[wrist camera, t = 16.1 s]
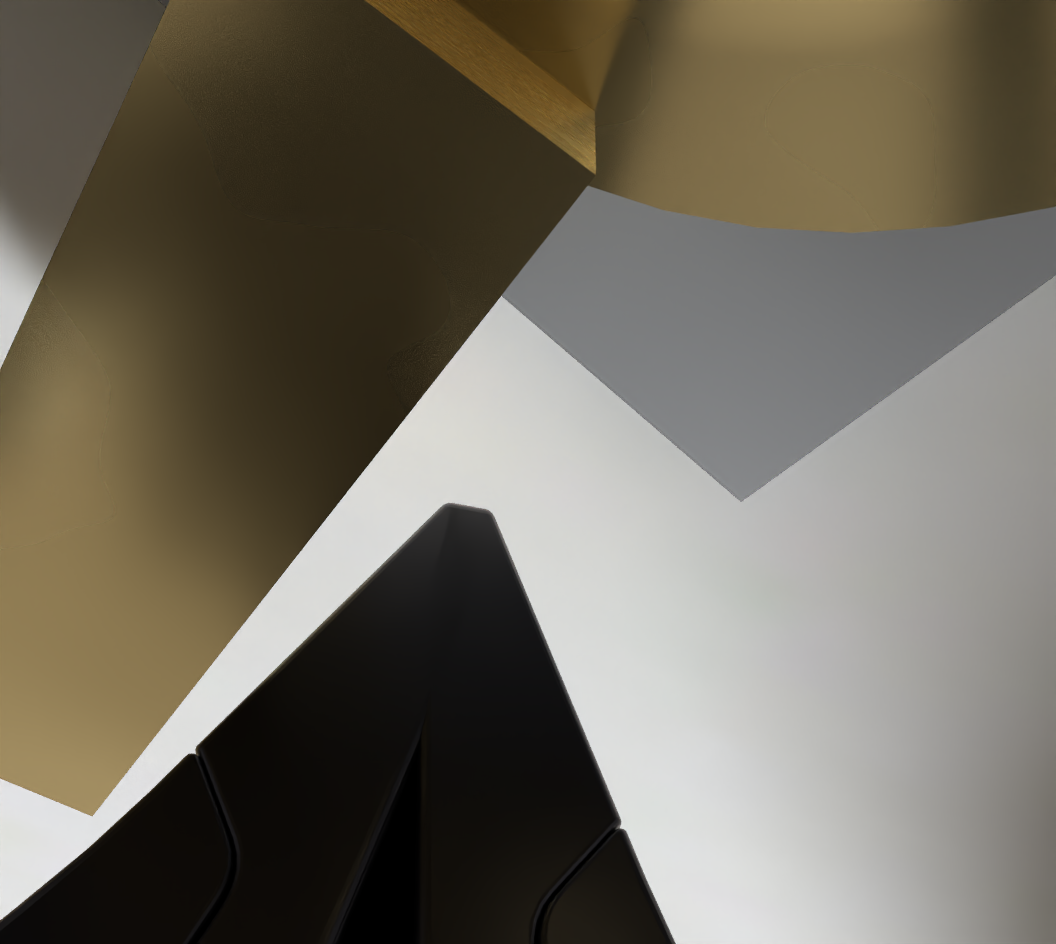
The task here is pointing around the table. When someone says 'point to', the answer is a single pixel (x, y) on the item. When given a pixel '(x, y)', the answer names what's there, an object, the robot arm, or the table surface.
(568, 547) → the table surface
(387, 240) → the gold low rounded piece
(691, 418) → the nut base
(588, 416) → the table surface
